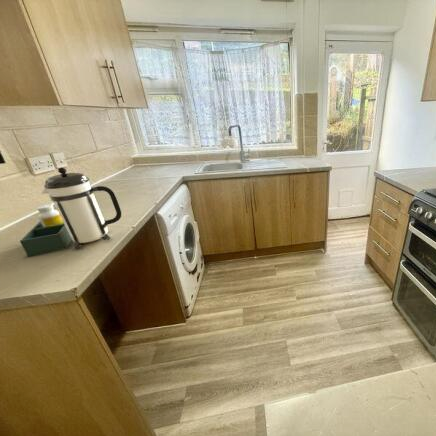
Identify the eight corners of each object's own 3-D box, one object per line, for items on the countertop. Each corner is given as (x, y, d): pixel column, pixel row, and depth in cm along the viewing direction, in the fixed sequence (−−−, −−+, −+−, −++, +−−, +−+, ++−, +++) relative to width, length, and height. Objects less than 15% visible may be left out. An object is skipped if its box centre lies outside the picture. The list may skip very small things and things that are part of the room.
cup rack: (27, 256, 90) (19, 241, 87) (47, 233, 107) (40, 220, 104) (66, 248, 95) (59, 233, 92) (78, 228, 112) (73, 215, 109)
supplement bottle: (72, 231, 106) (59, 204, 101) (54, 238, 101) (40, 210, 95) (62, 229, 108) (49, 203, 103) (44, 236, 103) (29, 208, 97)
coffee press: (94, 250, 92) (59, 172, 80) (60, 248, 95) (20, 172, 83) (129, 229, 108) (104, 161, 95) (98, 228, 111) (70, 162, 98)
